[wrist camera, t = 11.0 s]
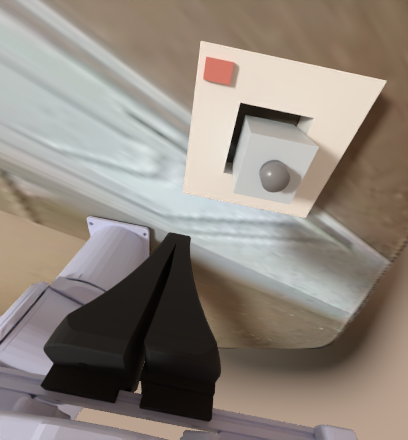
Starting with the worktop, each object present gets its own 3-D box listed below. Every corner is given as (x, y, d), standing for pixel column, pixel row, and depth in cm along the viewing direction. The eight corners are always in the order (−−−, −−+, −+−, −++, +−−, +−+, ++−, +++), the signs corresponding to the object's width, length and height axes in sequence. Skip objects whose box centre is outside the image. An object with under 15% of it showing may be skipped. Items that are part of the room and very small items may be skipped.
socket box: (297, 202, 22) (306, 220, 19) (187, 180, 21) (181, 195, 19) (363, 79, 15) (390, 81, 12) (205, 45, 15) (200, 40, 12)
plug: (273, 166, 20) (294, 214, 13) (232, 157, 20) (233, 202, 13) (290, 122, 17) (327, 153, 11) (244, 112, 17) (252, 138, 11)
